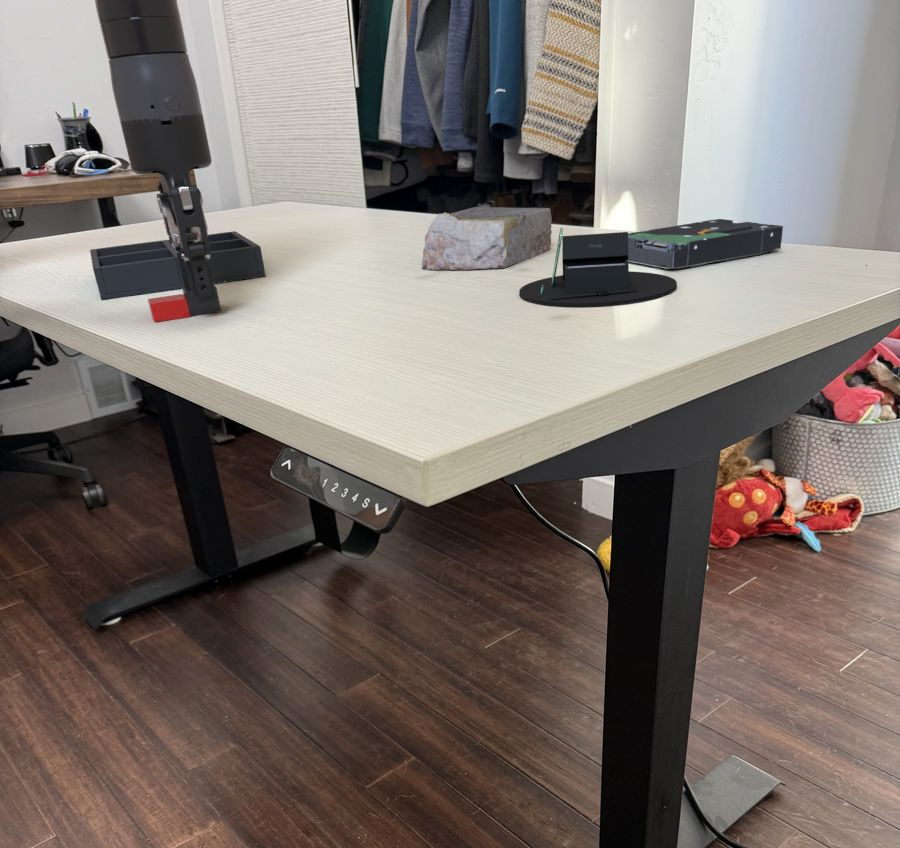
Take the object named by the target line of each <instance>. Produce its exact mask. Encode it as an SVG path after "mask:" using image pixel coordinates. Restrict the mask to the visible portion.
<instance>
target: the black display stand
mask: <svg viewBox="0 0 900 848" xmlns="http://www.w3.org/2000/svg"><path fill="white" fill-rule="evenodd" d="M563 232H564V227H560V229H559V233H558V239H557V240H558V241H557V247H556V251H555V257H554V264H553V270H552V276H551V277H546V278H541V279H537V280H535V281H531V282H529V283H527V284H525V285H522V286H521V287H520V289H519V291H518V292H519V295H518V296H519V297H520V299H522V300H524V301H525V302H529V303H532V304H536V305H542V306H550V307H564V308H565V307H566V308H591V307H593V308H594V307H611V306H620V305H628V304H635V303H641V302H646V301H652V300H655V299H659V298H662V297H665V296H667V295H669V294H671V293H673V292H674V291H676V290H677V287H678V283H677V280H676V279H675V278H673V277H671V276H668V275H664V274H660V273H654V272H646V271H630V270H629V268H630V267H629V265H630V264H629V261H628V234H629V231H619V232H604V233H603V232H602V233H593V234H592V233H590V234H575V235H563ZM561 246H562V247H561ZM561 248H562V251H561ZM560 251H561V252H562V255H561V256H562V258H561V259H562V274H560V275H557V269H558V264H559V258H560Z"/></svg>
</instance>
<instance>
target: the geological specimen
mask: <svg viewBox="0 0 900 848" xmlns="http://www.w3.org/2000/svg"><path fill="white" fill-rule="evenodd" d="M551 212H552V211H551V208H549V207H500V206H497V207H494V206H474V207H470V208H466V209H463V210H459V211H455V212H451V213H449V212H446V211H445V212H443V213H438V214H437V215H436V216H435V218H434V219H433V220H432V221H431V223H430V225H429V226H428V228H427V229H428V231H427V232H426V233H425V235H424V248H423V251H422V260H421V269H422V270H427V271H438V270H447V271H456V270H465V271H467V270H468V271H471V270H482V269H483V270H485V269H486V270H487V269H499V268H500V269H505V268H508V267H510V266H514V265H516V264H520V263H522V262H525V261H527V260H530V259H533V258H535V257H537V256H540V255H542V254H545V253H547V252H549V251H550V250H551V244H552V234H553V230H552V222H553V221H552V219H553V218H552V213H551Z"/></svg>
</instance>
